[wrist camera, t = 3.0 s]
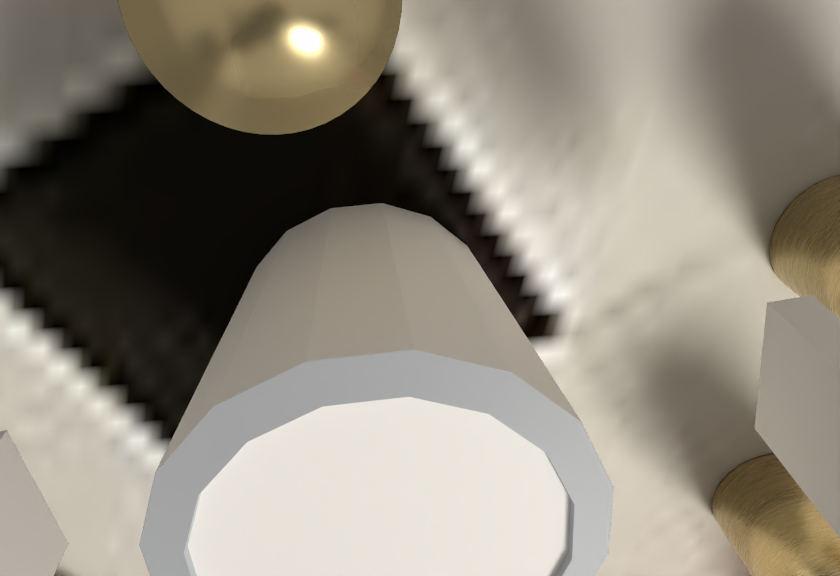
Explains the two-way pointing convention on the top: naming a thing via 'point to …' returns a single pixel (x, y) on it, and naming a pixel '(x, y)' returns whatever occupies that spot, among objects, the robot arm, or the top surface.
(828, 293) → the spacer field
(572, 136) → the top surface
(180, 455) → the white cup
